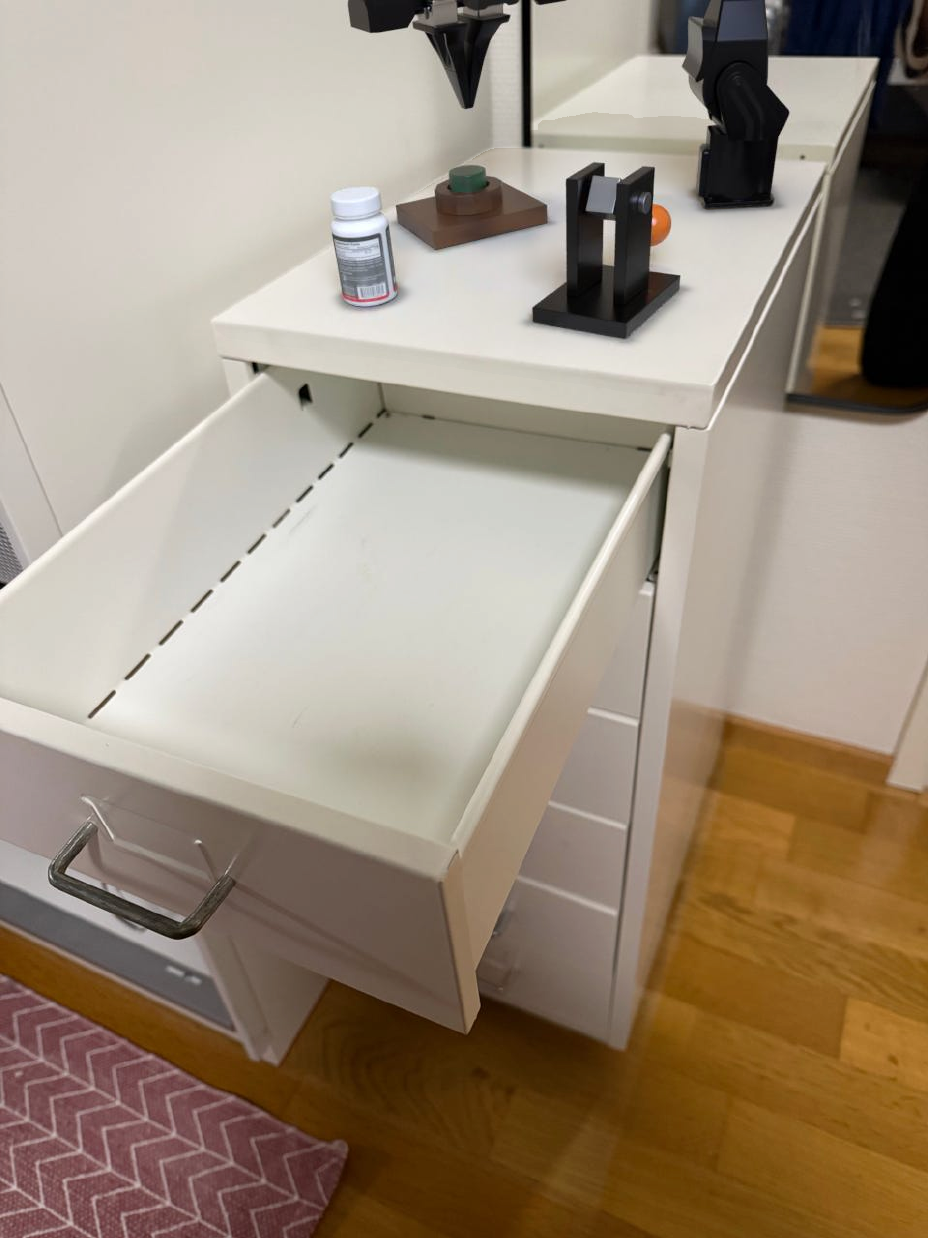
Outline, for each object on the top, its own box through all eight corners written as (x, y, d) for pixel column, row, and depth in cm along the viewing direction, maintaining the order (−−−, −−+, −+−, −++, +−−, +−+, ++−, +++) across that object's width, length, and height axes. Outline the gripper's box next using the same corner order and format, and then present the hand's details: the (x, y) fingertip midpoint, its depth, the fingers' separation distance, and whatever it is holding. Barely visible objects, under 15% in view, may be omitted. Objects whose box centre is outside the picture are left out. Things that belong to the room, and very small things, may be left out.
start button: (477, 181, 87) (476, 162, 86) (493, 189, 85) (492, 170, 84) (444, 188, 87) (442, 169, 85) (459, 197, 84) (457, 177, 83)
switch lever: (635, 247, 75) (644, 206, 74) (670, 251, 73) (680, 210, 72) (577, 215, 65) (587, 168, 64) (617, 220, 63) (628, 171, 62)
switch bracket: (590, 276, 75) (592, 150, 68) (679, 289, 71) (690, 157, 65) (532, 322, 69) (527, 188, 62) (625, 339, 65) (631, 198, 59)
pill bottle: (364, 283, 78) (348, 181, 72) (408, 289, 76) (395, 186, 70) (332, 303, 75) (313, 199, 69) (377, 311, 73) (361, 204, 67)
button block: (502, 197, 93) (500, 161, 91) (547, 222, 86) (547, 184, 83) (397, 222, 90) (393, 185, 87) (435, 249, 83) (431, 210, 80)
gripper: (378, -96, 63) (406, 144, 73) (603, -125, 68) (599, 104, 78) (331, -96, 71) (362, 120, 81) (535, -123, 76) (540, 85, 86)
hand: (467, 107), depth 81 cm, fingers closed
